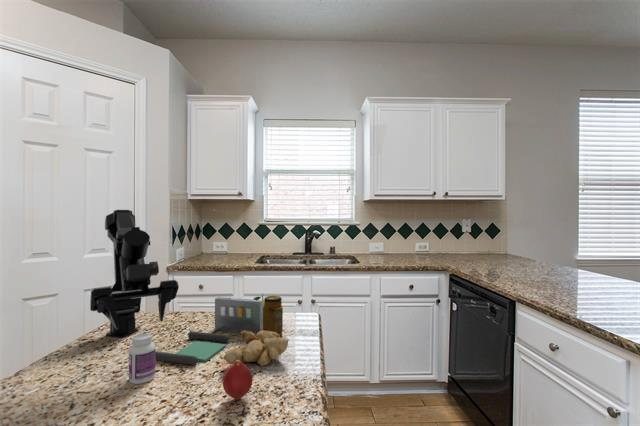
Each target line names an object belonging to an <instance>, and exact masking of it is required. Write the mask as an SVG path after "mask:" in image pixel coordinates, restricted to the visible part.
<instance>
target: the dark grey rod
mask: <svg viewBox="0 0 640 426" xmlns="http://www.w3.org/2000/svg"><path fill="white" fill-rule="evenodd" d="M187 336H188V338H189V339H194V340H205V341H211V342H220V343H227V342H229V340H230V336H229V335H228V334H221V333H213V332H203V331H202V332H201V331H195V330H194V331H192V330H191V331H189V332H188V335H187Z"/></svg>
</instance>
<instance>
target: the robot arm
mask: <svg viewBox="0 0 640 426" xmlns="http://www.w3.org/2000/svg"><path fill="white" fill-rule="evenodd" d="M104 230H105V231H107V237H108V239H109V240H111V242H112V243H113V263H114V264H113V265H114V269H113V270H114V284H113V286H104V287H96V288H93V289H92V290H91V291H90V300H89V302H90V304H89V305H90V307H89V308H90V309H89V310H90V311H92V312H97V313H98V314H103V315H104V316H105V317H106V318H107V319H108V320H109V322H110V325H109V326H110V327H109V329H110V330H109V332H107V333H105V336H108V337H117V338H123V337H124V338H125V337H127V336H129V335H131V334H133V333H135V332H139V328H136V315H135V314H136V313H137V314H139V313H140V312H141V305H142V304H141V303H142V298H148V297H155V296H157V298H158V301H157V303H158V306H157V307H158V314H159V315H158V317H159V321H160V322H161V323H162V322H163V321H164V315H165V310H166V306H167V304H168V303H169V304H170V302H171V301H172V300H174V299H176V296H177V294H178V291H179V288H180V287H179V282H178V281H177V280H176V279H170V280H160V282H159V286H157V287H149V285H150V286H151V282H152V281H151V277H155V276H158V274H159V272H160V271H159V269H160V268H159V263H158V261H149V263H146V262H145V258H146V256H147V253H148V248H149V246H151V241H150V238H151V237H150V235H149V234H148V232H146V231H145V230H142V229H140V226H136V215H135V214H134V213H133V211H132V210H130V209H116V210H115V209H114V210H113V212H112V213H109V214H107V215H106V216H105V220H104Z"/></svg>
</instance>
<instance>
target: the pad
mask: <svg viewBox="0 0 640 426" xmlns="http://www.w3.org/2000/svg"><path fill="white" fill-rule="evenodd" d="M225 348H227V344H226V343H224V344H223V343H215V342H208V341H197V340H195V341H193V342H192V343H190V344H188V345H187V346H185V347H183V348H182V349H180V350H178V351H177V352H175V353H174V354H181V355H189V356H196V357H197V358H198V362H204V363H206V362H208V361H209V360H210V359H212V358H213V357H215V356H216V355H217V354H218V353H220V352H221V351H223V350H224V349H225Z"/></svg>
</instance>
